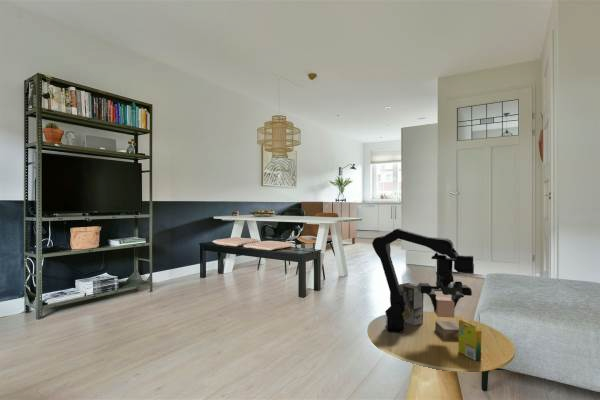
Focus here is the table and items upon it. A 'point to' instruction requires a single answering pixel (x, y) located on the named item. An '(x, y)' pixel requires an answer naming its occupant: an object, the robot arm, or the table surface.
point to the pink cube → (444, 307)
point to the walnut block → (447, 329)
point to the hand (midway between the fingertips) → (443, 311)
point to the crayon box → (469, 340)
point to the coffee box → (413, 304)
